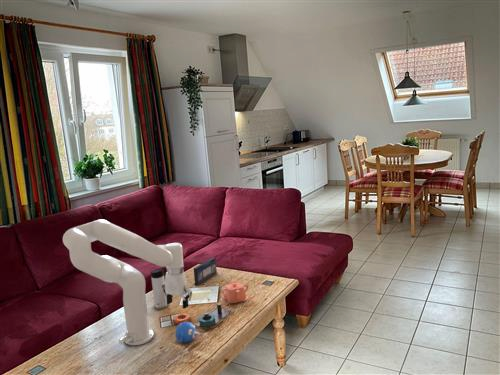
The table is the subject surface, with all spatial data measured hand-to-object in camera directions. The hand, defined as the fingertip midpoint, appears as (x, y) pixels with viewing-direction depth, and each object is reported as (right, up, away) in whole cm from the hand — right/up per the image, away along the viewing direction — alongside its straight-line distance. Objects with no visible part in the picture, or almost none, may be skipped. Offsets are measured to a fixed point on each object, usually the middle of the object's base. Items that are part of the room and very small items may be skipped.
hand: (177, 305), depth 196 cm
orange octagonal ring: (+2, -8, +2) cm, 9 cm away
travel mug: (-12, -6, +19) cm, 23 cm away
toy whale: (+8, -11, -16) cm, 21 cm away
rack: (+17, -7, +2) cm, 18 cm away
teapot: (+27, -3, +20) cm, 34 cm away
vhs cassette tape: (+8, +1, +51) cm, 52 cm away
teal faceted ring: (+14, -7, -2) cm, 16 cm away
